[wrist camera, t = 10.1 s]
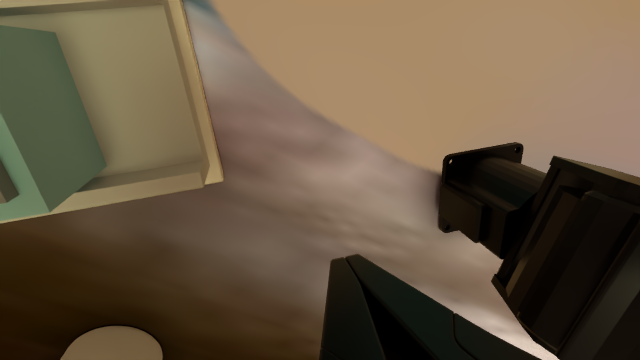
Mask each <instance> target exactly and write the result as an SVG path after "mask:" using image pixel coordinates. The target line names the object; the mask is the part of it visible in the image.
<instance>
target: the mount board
mask: <svg viewBox="0 0 640 360" xmlns="http://www.w3.org/2000/svg"><path fill="white" fill-rule="evenodd" d="M0 25H4V26H12V27H19V28H27V29H35V30H42V31H50V32H55V33H56V36H57V38H58V41H59V44H60V46H61V49H62V51H63V54H64V57H65V59H66V62H67V64H68V67H69V69H70V72H71V75H72V77H73V80H74V82H75V85H76V87H77V90H78V93H79V95H80V98H81V100H82V103H83V106H84V108H85V111H86V113H87V116H88V118H89V121H90V124H91V126H92V129H93V131H94V134H95V136H96V139H97V142H98V144H99V147H100V149H101V152H102V155H103V157H104V160H105V162H106V165H107V167H106V168H104V169H103V170H102V171H101V172H99V173H98V174H97V175H96V176H94V177H93V178H92V179H91V180H90V181H88V182H87V183H86V184H85V185H83V186H82V187H81V188H80V189H78V190H77V191H76V192H75V193H74V194H72V195H71V196H70V197H69V198H67V199H66V200H65V201H64V202H62V203H61V204H60V205H59V206H57V207H56V208H55V209H54V210H53V211H51V212H50V213H45V214H39V215H33V216H27V217H21V218H15V219H9V220H3V221H0V223H5V222H10V221H16V220H22V219H27V218H33V217H39V216H44V215H50V214H56V213H61V212H67V211H73V210H78V209H84V208H90V207H95V206H101V205H107V204H113V203H118V202H124V201H130V200H135V199H141V198H147V197H152V196H158V195H164V194H169V193H175V192H181V191H186V190H192V189H198V188H203V187H204V185H205V184H211V183H217V182H222V181H223V178H224V174H223V170H222V165H221V161H220V157H219V153H218V149H217V144H216V140H215V136H214V132H213V128H212V124H211V119H210V115H209V111H208V107H207V103H206V98H205V94H204V90H203V86H202V82H201V78H200V73H199V69H198V65H197V61H196V57H195V52H194V48H193V44H192V40H191V36H190V32H189V27H188V23H187V19H186V15H185V11H184V6H183V2H182V0H0Z"/></svg>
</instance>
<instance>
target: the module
mask: <svg viewBox="0 0 640 360" xmlns="http://www.w3.org/2000/svg"><path fill="white" fill-rule="evenodd" d="M106 167H107V165H106V162H105V160H104V157H103V155H102V152H101V149H100V147H99V144H98V142H97V139H96V136H95V134H94V131H93V129H92V126H91V124H90V121H89V118H88V116H87V113H86V111H85V108H84V106H83V103H82V100H81V98H80V95H79V93H78V90H77V87H76V85H75V82H74V80H73V77H72V75H71V72H70V69H69V67H68V64H67V62H66V59H65V57H64V54H63V51H62V49H61V46H60V44H59V41H58V38H57V36H56V33H55V32H50V31H42V30H35V29H27V28H19V27H12V26H4V25H0V221H3V220H9V219H15V218H21V217H27V216H33V215H39V214H45V213H50V212H51V211H53V210H54V209H55V208H56V207H57V206H59V205H60V204H61V203H62V202H64V201H65V200H66V199H67V198H69V197H70V196H71V195H72V194H74V193H75V192H76V191H77V190H78V189H80V188H81V187H82V186H83V185H85V184H86V183H87V182H88V181H90V180H91V179H92V178H93V177H94V176H96V175H97V174H98V173H99V172H101V171H102V170H103V169H104V168H106Z"/></svg>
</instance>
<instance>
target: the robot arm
mask: <svg viewBox="0 0 640 360" xmlns="http://www.w3.org/2000/svg"><path fill="white" fill-rule="evenodd" d="M515 149H516V150H515ZM522 154H523V145H522V144H520V143H517V142H514V143H508V144H503V145H498V146H492V147H486V148H481V149H475V150H470V151H464V152H459V153H454V154H449V155H447V156H445V158H444V160H443V168H442V184H441V188H440V205H439V215H440V216H439V229H440V230H441V231H442V232H444V233H449V232H453V231H458V230H459V231H461V232H462V233H463V234H464V235H466V236H467V237H468V238H469V239H471V240H472V241H473V242H475V243H479V242H480V243H481V244H482V245H483V246H485V247H486V248H487V249H488V250H490V251H491V252H492V253H494V254H495V255H496V256H497V257H499V258H500V259H504V260H503V262H502V264H501V266H500V268H499V270H498V272H497V274H494V276H493V278H492V280H491V282H492V284H493V285H494V287H495V288H496V289H497V291H498V292H499V294H500V295H501V297H502V298H503V300H504V301H505V302H506V304H507V305H508V307H509V308H510V310H511V311H512V313H513V314H514V315H515V317H516V318H517V320H518V321H519V323H520V324H521V326H522V327H523V328H524V330H525V331H526V332H527V333H528V334H529V335H530V337H531V338H532V339H533V341H535V342H536V343H537V344H539V345H541V346H542V347H543V348H545V349H546V350H548V351H549V352H551V353H552V354H554V355H555V356H556V357H557V358H558V359H560V360H640V178H639V177H636V176H633V175H629V174H625V173H623V172H619V171H616V170H612V169H608V168H605V167H601V166H596V165H591V164H588V163H583V162H578V161H574V160H570V159H566V158H562V157H557V156H553V158H552V160H551V162H550V165H551V166H550V168H549V170H548V172H547V174H546V173H543V172H541V171H538V170H536V169H533V168H531V167H528V166H525V165H523V164H521V160H522ZM450 160H452V162H451V163H450V164H449V162H450ZM446 225H447V226H446ZM445 226H446V227H445ZM319 360H541V359H539V358H537V357H535V356H533V355H531V354H529V353H527V352H525V351H523V350H521V349H520V348H518V347H516V346H514V345H512V344H510V343H508V342H506V341H504V340H502V339H500V338H498V337H496V336H495V335H493V334H491V333H489V332H487V331H485V330H484V329H482V328H480V327H479V326H477V325H475V324H473V323H472V322H470V321H468V320H467V319H465V318H463V317H462V316H460V315H458V314H457V313H454V312H453V311H452V310H450V309H448V308H447V307H445V306H443V305H442V304H440V303H438V302H437V301H435V300H433V299H432V298H430V297H428V296H427V295H425V294H424V293H422V292H420V291H419V290H417V289H415V288H414V287H412V286H410V285H409V284H407V283H405V282H404V281H402V280H400V279H399V278H397V277H396V276H394V275H392V274H391V273H389V272H387V271H386V270H384V269H382V268H381V267H379V266H377V265H376V264H374V263H372V262H371V261H369V260H368V259H366V258H364V257H363V256H361V255H359V254H354V255H350V256H346V257H345V258H344V257H341V258H336V259H332V260H331V264H330V272H329V281H328V289H327V298H326V307H325V315H324V324H323V332H322V341H321V350H320V356H319Z"/></svg>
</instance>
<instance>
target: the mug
mask: <svg viewBox="0 0 640 360" xmlns="http://www.w3.org/2000/svg"><path fill="white" fill-rule="evenodd" d="M162 358H163V356H162V349H161V347H160V345H159V343H158V342H157V341H156V340H155V339H154V338H153V337H152V336H151V335H150V334H148V333H146V332H144V331H142V330H139V329H136V328H133V327H127V326H107V327H102V328H98V329H94V330H92V331H89V332H87V333H85V334H83V335H81V336H80V337H78V338H77V339H76V340H75V341H74V342H73V343H72V344H71V345H70V346H69V347H68V349H67V350H66V352H65V353H64V355H63V356H62V358H61V359H60V360H162Z"/></svg>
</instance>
